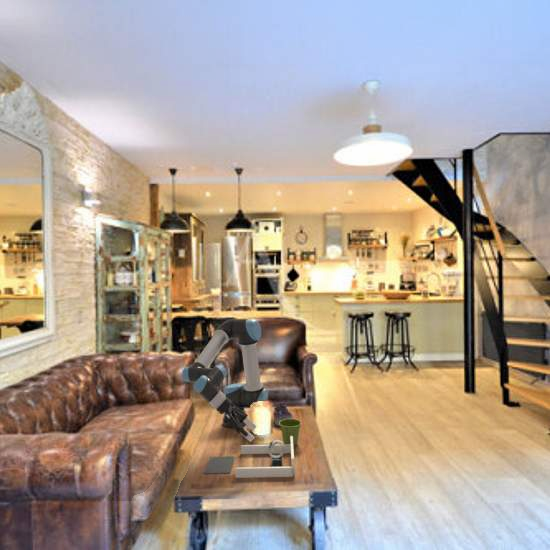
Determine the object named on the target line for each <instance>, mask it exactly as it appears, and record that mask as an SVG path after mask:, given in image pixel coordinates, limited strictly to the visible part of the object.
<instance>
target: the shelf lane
mask: <svg viewBox="0 0 550 550" xmlns="http://www.w3.org/2000/svg"><path fill="white" fill-rule="evenodd" d="M290 442H291V444H284V446H285V451H284V454H290V461H291V462H290V465H291V466H289V465H288V466H282V467H273V466H248V467H247V466H245V467H243V466H242V467H239V466H238V467H235V479H241V478H242V479H243V478H244V479H247V478H248V479H249V478H250V479H252V478H294V477H295V451H294V446H293V436H290ZM269 445H270V444H243V445H242V444H241V445H240V455H265V454H267V455H268V454H269V451H268V447H269ZM282 450H283V444H281V443H280V444H278V443H277V444H275V446H274V448H273V450H272V451H271V452H270V453H271V454H272V455H277V454H281V452H282ZM269 455H270V454H269Z"/></svg>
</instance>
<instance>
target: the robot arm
mask: <svg viewBox="0 0 550 550" xmlns="http://www.w3.org/2000/svg"><path fill="white" fill-rule="evenodd" d="M261 337H262V327H261V324H260V322H259V321H258V320H256V319H253V318H231V319H228V320H226V321H224V322H223V323H221V324H220V325H219V326H218V327H217V328H216V329H215V330H214V332H213V335H212V337H211V339H210V340H209V342H208V343H207V345H206V346H205V347H204V348H203V350H202V351H201V352H200V354H199V355H198V357H197V358H196V359H195V361H194V362H193V364H192V365H191V366H185V367H184V368H183V370H182V372H181V377H182V379H183V381H185V382H186V383H192V388H193V389H194V390H195V391H196V392H197V393H198V394H199V395H200V396H201V397H202V398H203V399H204V400H205V401H206V402H207V403H209V405H210V407H213V408H214V409H216V411H217V412H218V413H219V414H220V415H223V417H222V425H223V426H224V427H225V428H233V429H234V430H235V432H236V433H237V434H238V435H239V434H241V435H242V437H244V438H245V439H246V440H247V441H249V443H252V442H253V440H254V439H255V436H254V435H253V434H252V432H251V433H250V431H249V430H247V429H246V427H245V426H247V427H248V428H249V429H250V430H252V431H255V429H256V428H257V425H256V424H255V423H254V422H253V421H252V420H251V419H250V418H249V417H248V416H249V415H248V414H247V412H246V411H245V408H247V409H251V408H250V405H251V404H252V403H253V402H257V401H267V402H268V401H269V400H268V398H269V391H268V389H267V388H265V386H264V383H263V382H262V381H261V375H260V367H259V366H260V365H259V357H258V349H257V344H258V343H259V340H260V339H261ZM230 340H237V343H238V345H239V346H240V347H241V354H242V355H241V356H242V362H243V369H244V378H245V379H244V380H245V385H244V383H241V382H238V383H232V384H229V385H226V386H225V388H224V393H223V391H221V390H220V388H219V386H220V385H221V383H222V382H223V381H224V380H225V378H226V376H227V375H228V371H227V369H226V367H225V366H224V365H221V364H217V365H214V366H213V368H210V366H211V365H212V363H213V361H214V360H215V358H216V357H217V355H218V354H219V352H220V351H221V350H222V348H223V346H224V345H225V344H228V342H229V341H230Z"/></svg>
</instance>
